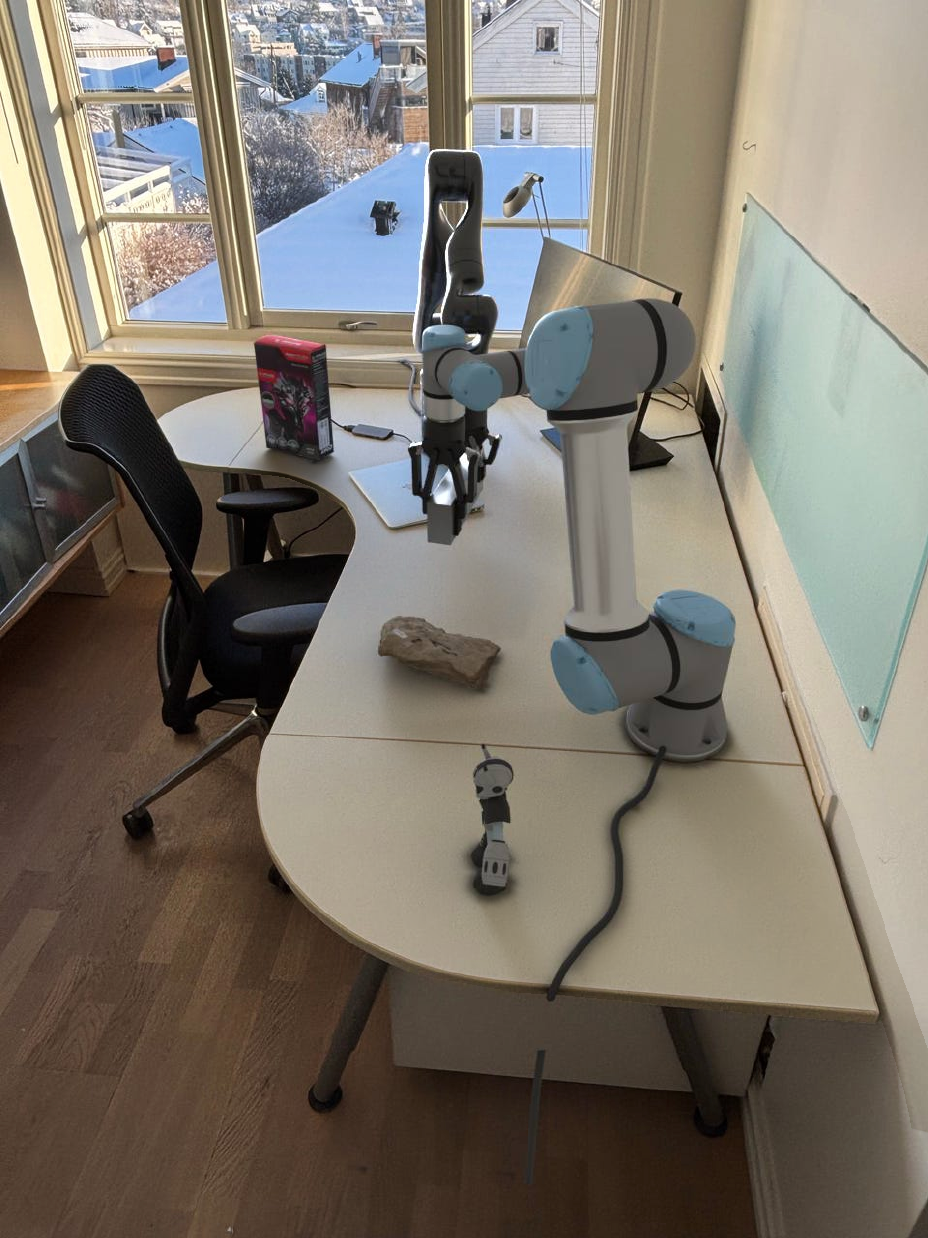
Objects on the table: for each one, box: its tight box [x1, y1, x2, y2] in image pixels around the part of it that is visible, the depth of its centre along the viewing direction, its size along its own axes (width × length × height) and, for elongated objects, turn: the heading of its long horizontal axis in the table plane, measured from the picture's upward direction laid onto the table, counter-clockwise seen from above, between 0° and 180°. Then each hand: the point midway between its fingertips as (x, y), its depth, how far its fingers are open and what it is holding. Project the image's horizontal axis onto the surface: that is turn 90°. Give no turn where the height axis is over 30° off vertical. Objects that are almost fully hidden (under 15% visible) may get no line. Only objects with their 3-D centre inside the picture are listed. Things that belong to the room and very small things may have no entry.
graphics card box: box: [253, 333, 335, 461], centre depth 223 cm, size 17×7×27 cm, turn 62°
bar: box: [426, 453, 484, 546], centre depth 183 cm, size 25×5×8 cm, turn 165°
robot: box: [470, 743, 515, 896], centre depth 114 cm, size 20×5×20 cm, turn 3°
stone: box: [377, 615, 502, 691], centre depth 155 cm, size 21×15×6 cm
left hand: (467, 479), depth 189 cm, fingers closed on bar, 4 cm apart
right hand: (444, 530), depth 178 cm, fingers closed on bar, 5 cm apart
